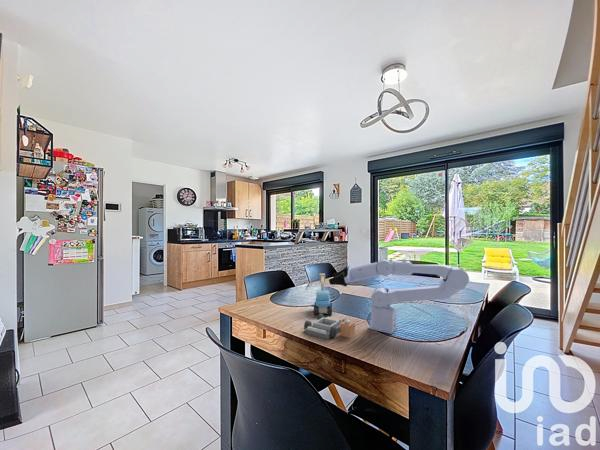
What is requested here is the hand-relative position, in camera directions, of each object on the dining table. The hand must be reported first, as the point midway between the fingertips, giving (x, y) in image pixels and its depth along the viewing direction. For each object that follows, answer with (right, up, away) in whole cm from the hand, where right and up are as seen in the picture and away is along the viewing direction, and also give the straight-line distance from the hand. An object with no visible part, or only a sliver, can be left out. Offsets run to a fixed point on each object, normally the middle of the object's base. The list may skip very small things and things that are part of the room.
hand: (331, 279), depth 112 cm
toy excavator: (-2, -19, +14) cm, 24 cm away
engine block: (+4, -18, -15) cm, 24 cm away
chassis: (-3, -18, -10) cm, 21 cm away
